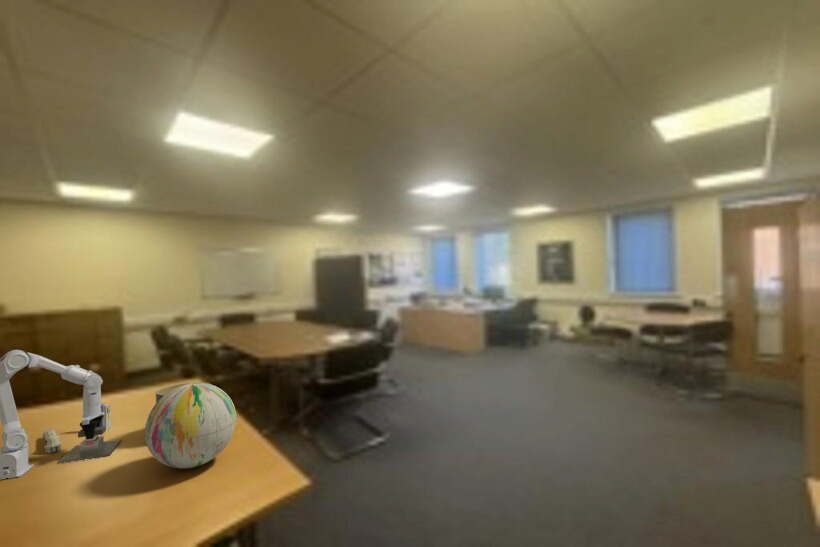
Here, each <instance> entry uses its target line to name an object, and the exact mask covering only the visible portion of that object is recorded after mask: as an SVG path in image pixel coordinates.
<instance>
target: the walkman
mask: <svg viewBox="0 0 820 547" xmlns="http://www.w3.org/2000/svg"><path fill="white" fill-rule="evenodd" d="M101 412H104V417H103V419H102V421H101V423H100V426H99V427H104V426H106V430H107V431H109V430H110V429H111V403H107V404H105V403H104V404H103V403H101ZM108 429H109V430H108Z"/></svg>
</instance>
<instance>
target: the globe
mask: <svg viewBox="0 0 820 547" xmlns="http://www.w3.org/2000/svg"><path fill="white" fill-rule="evenodd" d="M189 383H190V384H186V385H182V386H180V387H177V388H175V389H173V390H171V391H170V392H168V393H167V394H165V395H164V396H163V397H162V398H161V399H160V400H159V401H158V402H157V403H156V402H155V404H154V406H153V407H152V409H151V410H150V412H149V413H148V416H147V419H146V421H145V422H146V423H145V428H144V439H145V443H146V445H147V450H148V451H149V453H150V454H151V455H152V457H153V458H154V459H156V460H157V461H158V462H159V463H161V464H163V465H165V466H167V467H170V468H174V469H192V468H196V467H200V466H203V465H205V464H206V463H208V462H210V461H212V460H214V459H215V458H216V457H217V456H218V455H220V454H221V453H222V452H223V451H224V450H225V448H227V446H228V444H230V442H231V439H232V437H233V435H234V432H235V430H236V427H237V426H236V425H237V412H236V411H237V410H236V408H235V405H234V403H233V400H232V399H231V397H230V396H229V395H228V393H226V392H225V391H224V390H223V389H221V388H220V387H218V386H216V385H213V384H211V383H209V384H207V383H208V382H202V383H195V382H189Z"/></svg>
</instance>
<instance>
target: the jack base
mask: <svg viewBox="0 0 820 547" xmlns="http://www.w3.org/2000/svg"><path fill="white" fill-rule="evenodd" d="M104 438H105V437H104V435H98V439H97V440H96V441H89V442H86V438H84V439H83V440H82V441H81V442H80V443H79V444H78V445H74V447H73V448H71V449H70V450H69V451H68V452H67V453H66V454H65V455H64V456H62V457H61V459H59V460H58V465H60V464H59V463H62V464H65V463H64V462H69V463H72V462H71V461H75V462H79V461H78V460H82V461H86V460H85V459H89V460H93V459H92V458H95V459H101V458H100V457H102V458H107V456H109V457H111V456H112V454H113V453H114V452H115V450H116V449H117V448H118V447H119V446H120V444H121V443H122V442H123V440H122V438H121V439H114V440H107V441H106V440H105V441H104ZM117 446H118V447H117ZM112 452H113V453H112Z"/></svg>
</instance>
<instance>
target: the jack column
mask: <svg viewBox="0 0 820 547" xmlns="http://www.w3.org/2000/svg"><path fill="white" fill-rule="evenodd" d="M105 432H106V426H104V427H96V428H95V433H94V437H93V439H86V437H85V433H84V431H83V429H82V428H81V429H80V430H79V431H78V432H77V438H85V439H86V442H89V441H96V440H97V439H98V437H99V436H103V434H104V433H105Z"/></svg>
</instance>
